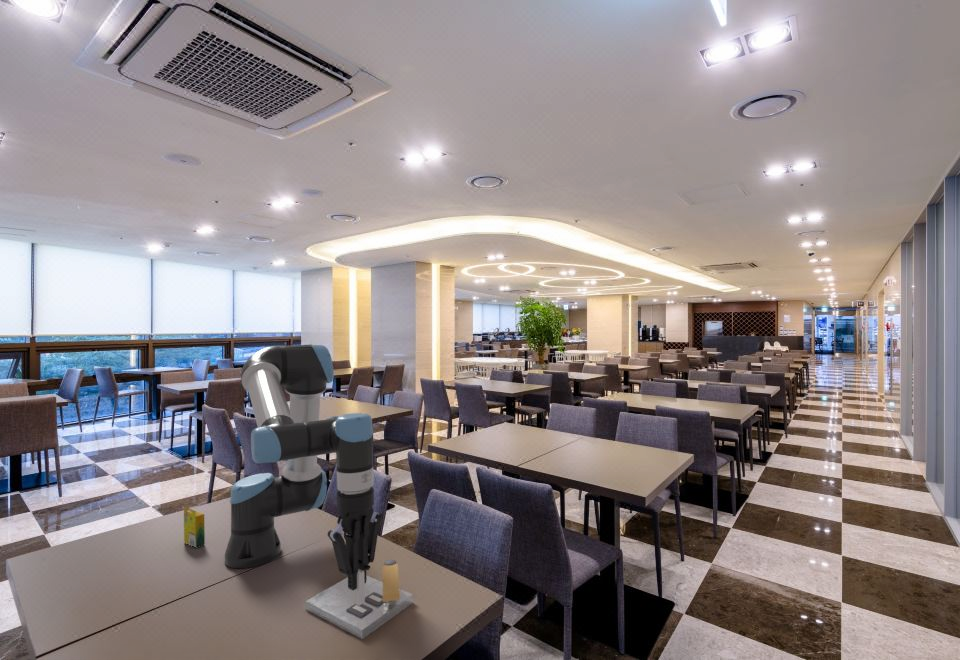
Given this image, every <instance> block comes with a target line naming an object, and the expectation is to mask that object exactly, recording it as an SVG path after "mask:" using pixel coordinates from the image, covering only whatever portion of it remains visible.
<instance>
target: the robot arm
mask: <svg viewBox="0 0 960 660" xmlns="http://www.w3.org/2000/svg"><path fill="white" fill-rule="evenodd" d="M334 374H335V373H334V366H333V358H332V356H331V352H330V351H329V349H328V348H327V346H325V345H322V344H312V343H310V344H294V345H291V344H290V345H271V346H265V347H264V348H262V349H260V350H258V351H256V352H255V353H253V354H252V355H251V356H250V357H249V358H248V359H247V360H246V362H245V363H244V364H243V367H242V368H241V373H240V379H241V385H242V387H243V388H244V390H245V391H247V392H248V395H249V397H250V399H249V400H250V402H251V406H252V411H253V415H254V418H255V422H256V423H255V424H256V425H257V427H255V428H254V429H253V430H252V431H251V434H250V449H251V451H250V452H251V457H252V461H253V462H254V463H256V464H268V463H273V464H274V463H277V462H282V461H286V462H287V464H286V465H285V466H284V467H282V469H281V476H276V477H275V475H273V473H271V472H264V473H262V472H261V473H255V474H253V475H249V476H246V477H243V478H241V479H239V480H238V481H237V482H235V483H234V484H233V485H232V486H231V488H230V499H229V504H230V537H229V540H228V541H227V542H228V543H227V546H226V549H225V552H224V565H226V566H227V567H228V568H232V569H248V568H254V567H257V566H261V565H264V564H266V563H269V562H270V561H273V560H274V559H276V558H277V557H278V556H279V555H280V553H281V551H282V550H281V549H282V548H281V547H282V545H281V544H282V543H281V541H280V538H279V536H278V532H277V530H276V527H275V518H278V517H283V516H285V515H291V514H297V513H301V512H308V511H311V510H314V509H317V508H320V507H321V506H322V505H323V503H324V502H325V499H326V495H327V489H328V488H327V487H328V486H327V475H326V472H325V470H324V469H322V467H321V466H320V464H318V463H317V462H318V456H322V455H326V454H327V455H328V454H334V453H335V456H336V457H335V458H336V459H335V460H336V490H337V492H336V508H337V511H338V518H337V523H336V524H337V525H336V526H335V528H334V529H333V530H332V529H331V530H328V532H327V536H328V538H329V540H330V541H331V543H332V548H333V551H334V556H335V560H336V565H337V568H338V571H339V573H341V574H343V575H345V576H347V577H348V588H349V589H350V596H351V602H352V603H354V604H357V605H359V606H360V605H361V604H363V603H364V602H365V583H366V580H367V578H366V575H367V571H369V570H370V569H371V565H369V564H370V563H374V561H375V555H376V549H377V543H378V542H377V541H378V533H379V529H380V524H381V521H382V518H383V514H382V513H379V512H375V511H374V505H375V489H374V487H373V486H374V482H375V481H374V425H373V418H372V416H371V415H370V414H368V413H361V412H357V413H355V412H353V413H345V414H341V415H334V416H330V417H327V418H326V419H320V410H321V396H322V394H323V393H325V392H326V390H327V384H331V383H332V382H333V380H334ZM282 387H284V390H283V388H282ZM284 391H285V393H287V394H288V395H289V403H288V402H287V399H286V396H285V394H284Z"/></svg>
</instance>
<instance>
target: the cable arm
mask: <svg viewBox="0 0 960 660" xmlns="http://www.w3.org/2000/svg"><path fill="white" fill-rule="evenodd" d="M383 564H384V565H383ZM383 564H382V582H383V602H387V601H394V600H399V589H400V580H399V579H400V578H399V565H398V563H397V560H396V559H388V560H386V561H384V563H383Z"/></svg>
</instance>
